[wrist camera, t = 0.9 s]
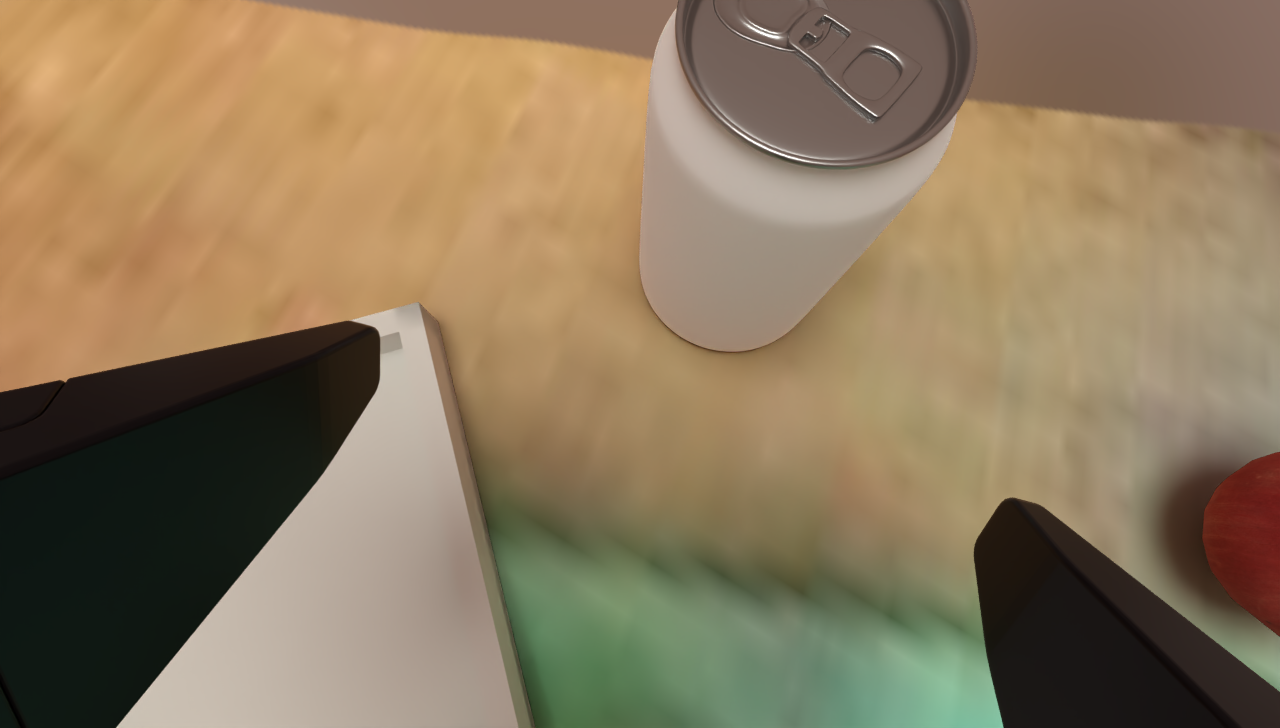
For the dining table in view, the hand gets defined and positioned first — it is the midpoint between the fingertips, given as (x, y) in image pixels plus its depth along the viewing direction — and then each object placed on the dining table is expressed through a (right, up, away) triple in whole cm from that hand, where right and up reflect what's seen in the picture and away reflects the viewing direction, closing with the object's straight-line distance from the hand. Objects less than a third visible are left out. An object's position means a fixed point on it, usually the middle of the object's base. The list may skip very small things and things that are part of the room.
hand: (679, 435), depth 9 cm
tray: (-12, -6, +12) cm, 18 cm away
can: (+3, +4, +15) cm, 16 cm away
